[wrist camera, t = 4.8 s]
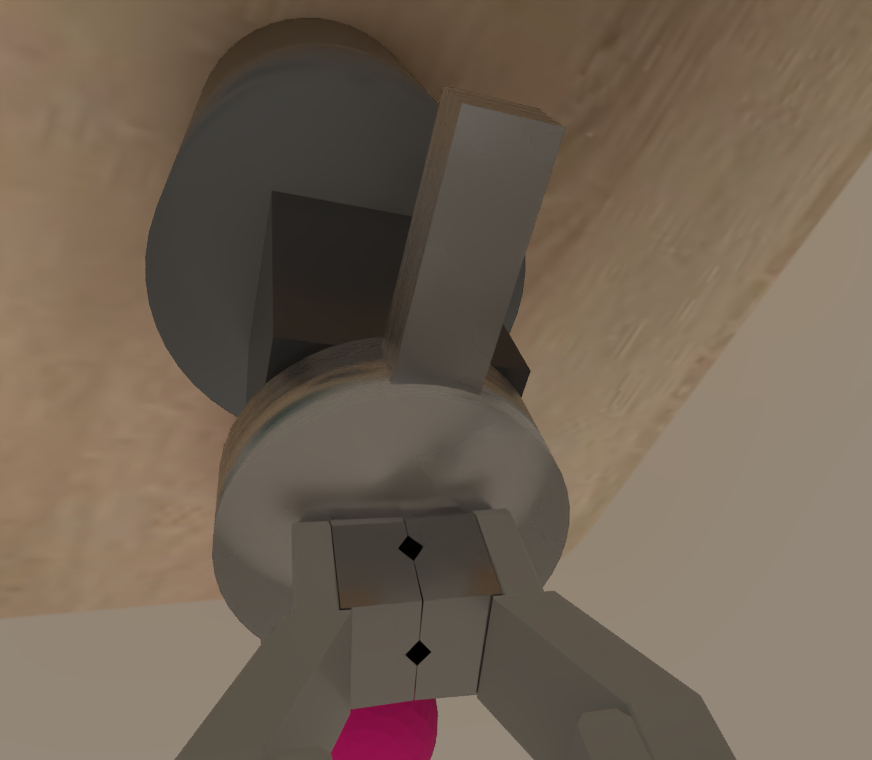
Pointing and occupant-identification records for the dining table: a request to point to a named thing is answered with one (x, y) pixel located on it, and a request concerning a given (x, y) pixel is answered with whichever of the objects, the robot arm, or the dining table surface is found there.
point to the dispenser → (292, 208)
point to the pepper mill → (389, 732)
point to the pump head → (408, 380)
